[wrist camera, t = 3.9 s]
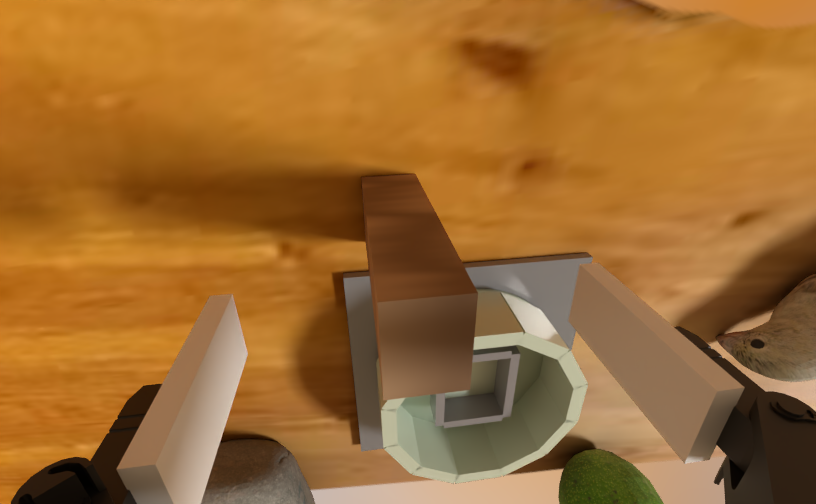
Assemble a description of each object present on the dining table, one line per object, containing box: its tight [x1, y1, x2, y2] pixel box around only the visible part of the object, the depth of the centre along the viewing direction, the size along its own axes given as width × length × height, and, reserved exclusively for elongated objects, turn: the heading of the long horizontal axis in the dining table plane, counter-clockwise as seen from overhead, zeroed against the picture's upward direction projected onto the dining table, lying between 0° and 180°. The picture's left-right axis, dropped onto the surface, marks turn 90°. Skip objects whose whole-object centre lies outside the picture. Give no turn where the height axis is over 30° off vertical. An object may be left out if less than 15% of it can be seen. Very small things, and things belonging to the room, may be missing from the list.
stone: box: [201, 439, 315, 504], centre depth 30 cm, size 9×9×10 cm
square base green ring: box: [343, 253, 593, 483], centre depth 27 cm, size 16×16×5 cm
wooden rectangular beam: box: [361, 174, 478, 400], centre depth 18 cm, size 3×4×12 cm
